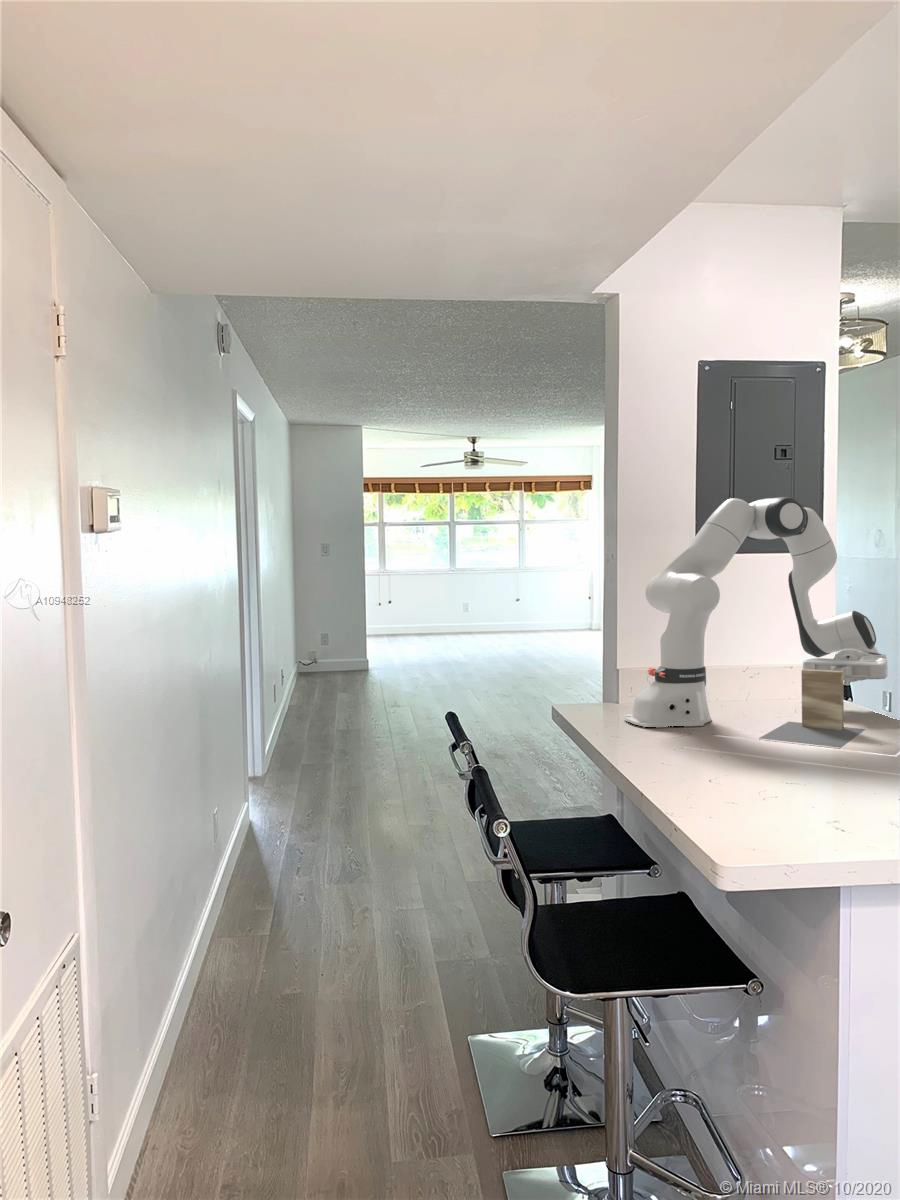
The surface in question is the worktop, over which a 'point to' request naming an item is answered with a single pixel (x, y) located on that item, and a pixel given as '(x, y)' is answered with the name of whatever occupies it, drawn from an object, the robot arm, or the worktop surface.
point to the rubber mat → (812, 735)
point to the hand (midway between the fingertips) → (837, 672)
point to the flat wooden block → (822, 699)
